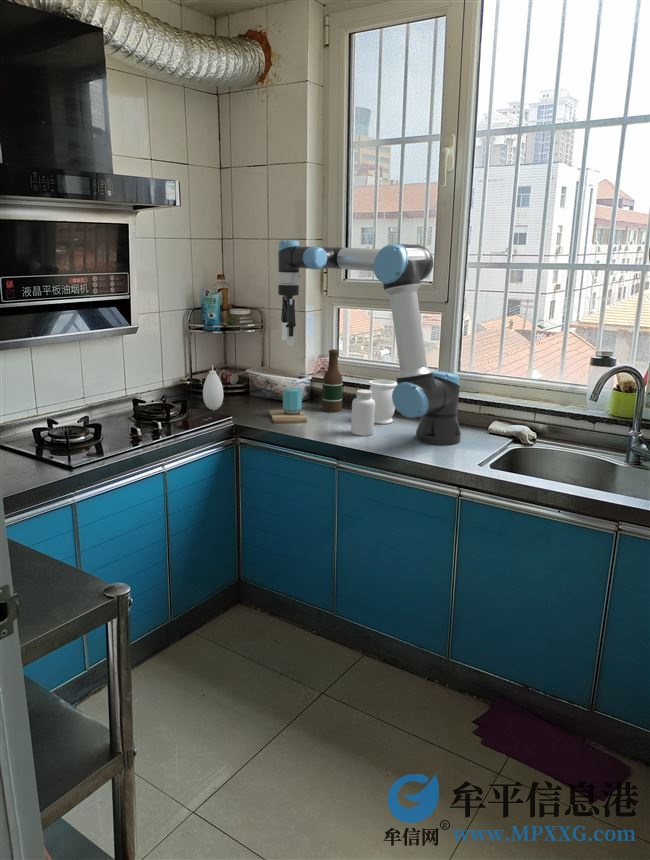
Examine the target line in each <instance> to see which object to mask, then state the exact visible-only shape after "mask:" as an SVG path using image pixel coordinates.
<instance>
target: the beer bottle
mask: <svg viewBox="0 0 650 860" xmlns="http://www.w3.org/2000/svg"><path fill="white" fill-rule="evenodd" d="M328 353H329V354H328V363H327V365H328V366H327V370H326V372H325V373H324V375H323V377H322V394H321V396H322V398H321V399H322V400H321V406H322V409H321V410H322V411H323V410H324V412H325V411H326V412H325V413H339V412H341V411H342V408H343V407H342V406H343V384H344V383H343V377H342V374H341V372H340V371H339V359H338V357H339V356H338V354H339V350H338V349H329V350H328Z"/></svg>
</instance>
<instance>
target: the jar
mask: <svg viewBox="0 0 650 860" xmlns="http://www.w3.org/2000/svg"><path fill="white" fill-rule="evenodd" d="M368 384H369V386H370V387H369V389H368V390H370V391H372V397H371V398H372V399H373V400H374V401H375V417H374V424H379V425H380V424H381V425H388V424H391V423H393V422H394V419H393V416H394V414H395V411H396V408H395V406H394V404H393V401H392V392H393V390H394V388H395V387H396V386H397V381H395V380H389V379H372V380H369V381H368Z"/></svg>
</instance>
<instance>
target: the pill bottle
mask: <svg viewBox="0 0 650 860" xmlns="http://www.w3.org/2000/svg"><path fill="white" fill-rule="evenodd" d="M371 397H372V391H370V390H369V389H358V390H356V397H354V398H353V399H352V402H351V404H352V405H351V423H350V433H351V434H353V435H355V436H363V437H364V436H365V437H367V436H368V437H369V436H371V435H373V434H374V431H375V429H374V428H375V423H374V417H375V401H374V400H373V399H372V398H371Z"/></svg>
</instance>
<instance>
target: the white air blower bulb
mask: <svg viewBox="0 0 650 860" xmlns="http://www.w3.org/2000/svg"><path fill="white" fill-rule="evenodd" d="M202 399H203V402H204V405H205V406H206V408H208V409H209V410H211V409H212V410H211V411H216V410H218V409H219V408H220V407H221V406H222V404H223V400H224V387H223V384H222V380H221V378H220V377H219V375H218V374H217V371H216V370H214V365H213V364H212V365H211V370H209V372H208V374H207V376H206V378H205V381H204V384H203V388H202Z"/></svg>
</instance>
